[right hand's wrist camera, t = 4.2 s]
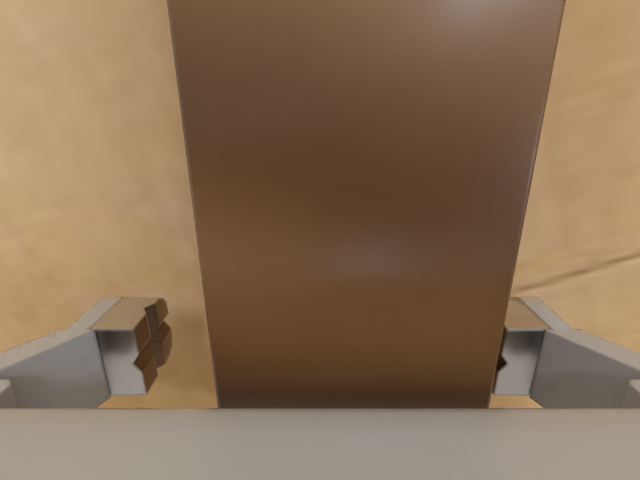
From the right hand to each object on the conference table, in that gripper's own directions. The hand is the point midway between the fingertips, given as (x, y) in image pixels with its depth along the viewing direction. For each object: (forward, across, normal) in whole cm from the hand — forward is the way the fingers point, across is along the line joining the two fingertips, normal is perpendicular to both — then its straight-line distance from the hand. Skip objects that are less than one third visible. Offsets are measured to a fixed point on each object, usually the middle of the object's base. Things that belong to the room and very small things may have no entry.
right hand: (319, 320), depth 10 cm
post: (+5, -1, -24) cm, 24 cm away
